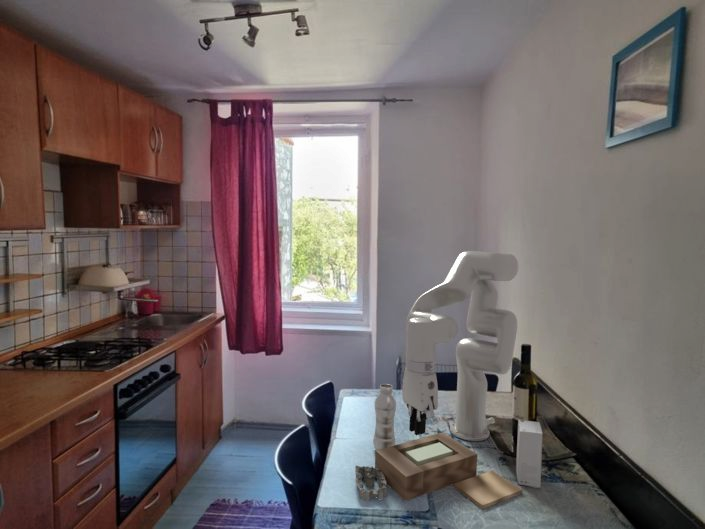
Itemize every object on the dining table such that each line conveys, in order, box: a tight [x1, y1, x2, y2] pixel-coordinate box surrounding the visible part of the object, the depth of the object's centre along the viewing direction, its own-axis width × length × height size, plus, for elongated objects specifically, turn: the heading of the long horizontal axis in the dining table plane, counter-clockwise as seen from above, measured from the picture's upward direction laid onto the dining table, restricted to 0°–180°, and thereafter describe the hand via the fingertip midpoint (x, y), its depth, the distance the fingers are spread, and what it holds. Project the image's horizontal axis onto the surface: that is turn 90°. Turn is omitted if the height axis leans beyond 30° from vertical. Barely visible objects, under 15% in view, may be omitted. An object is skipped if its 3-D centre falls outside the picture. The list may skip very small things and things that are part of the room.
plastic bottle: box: [372, 383, 397, 450], centre depth 132 cm, size 6×7×20 cm
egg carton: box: [354, 465, 388, 501], centre depth 114 cm, size 11×8×4 cm
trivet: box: [453, 470, 523, 510], centre depth 114 cm, size 14×10×1 cm
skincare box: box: [515, 419, 544, 489], centre depth 119 cm, size 8×6×15 cm
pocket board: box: [374, 432, 478, 502], centre depth 120 cm, size 24×14×6 cm, turn 119°
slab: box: [405, 442, 453, 466], centre depth 120 cm, size 12×5×2 cm, turn 119°
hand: (417, 431), depth 118 cm, fingers closed
